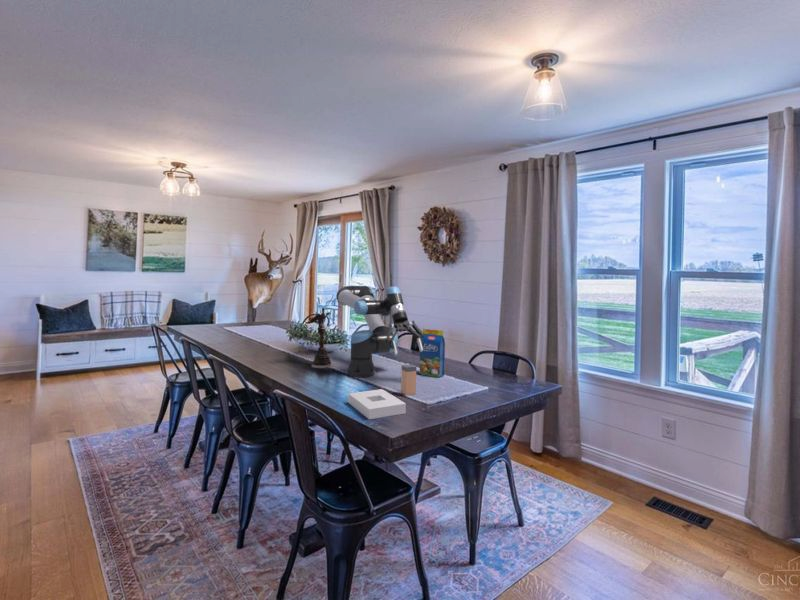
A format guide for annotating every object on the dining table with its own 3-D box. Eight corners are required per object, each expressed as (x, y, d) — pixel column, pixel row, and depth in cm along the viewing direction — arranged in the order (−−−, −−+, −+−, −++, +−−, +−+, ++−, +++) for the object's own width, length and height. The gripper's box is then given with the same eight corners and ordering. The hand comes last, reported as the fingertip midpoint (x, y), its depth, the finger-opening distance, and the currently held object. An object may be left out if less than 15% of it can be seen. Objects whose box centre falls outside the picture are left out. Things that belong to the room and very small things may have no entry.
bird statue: (299, 365, 246) (299, 305, 243) (315, 361, 256) (315, 304, 254) (319, 369, 236) (319, 307, 234) (335, 365, 247) (336, 306, 244)
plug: (401, 392, 196) (401, 365, 195) (410, 391, 198) (411, 364, 197) (406, 395, 192) (406, 367, 191) (415, 394, 194) (416, 366, 193)
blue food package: (439, 378, 224) (440, 331, 222) (419, 374, 230) (420, 329, 228) (444, 375, 229) (445, 330, 227) (424, 372, 235) (425, 328, 233)
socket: (348, 402, 180) (348, 393, 180) (382, 397, 188) (382, 389, 187) (369, 419, 161) (369, 409, 160) (405, 413, 168) (405, 403, 168)
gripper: (377, 313, 210) (387, 353, 201) (423, 308, 218) (434, 346, 209) (374, 320, 216) (383, 358, 207) (418, 315, 225) (429, 352, 216)
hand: (409, 352), depth 208 cm, fingers open, 13 cm apart
